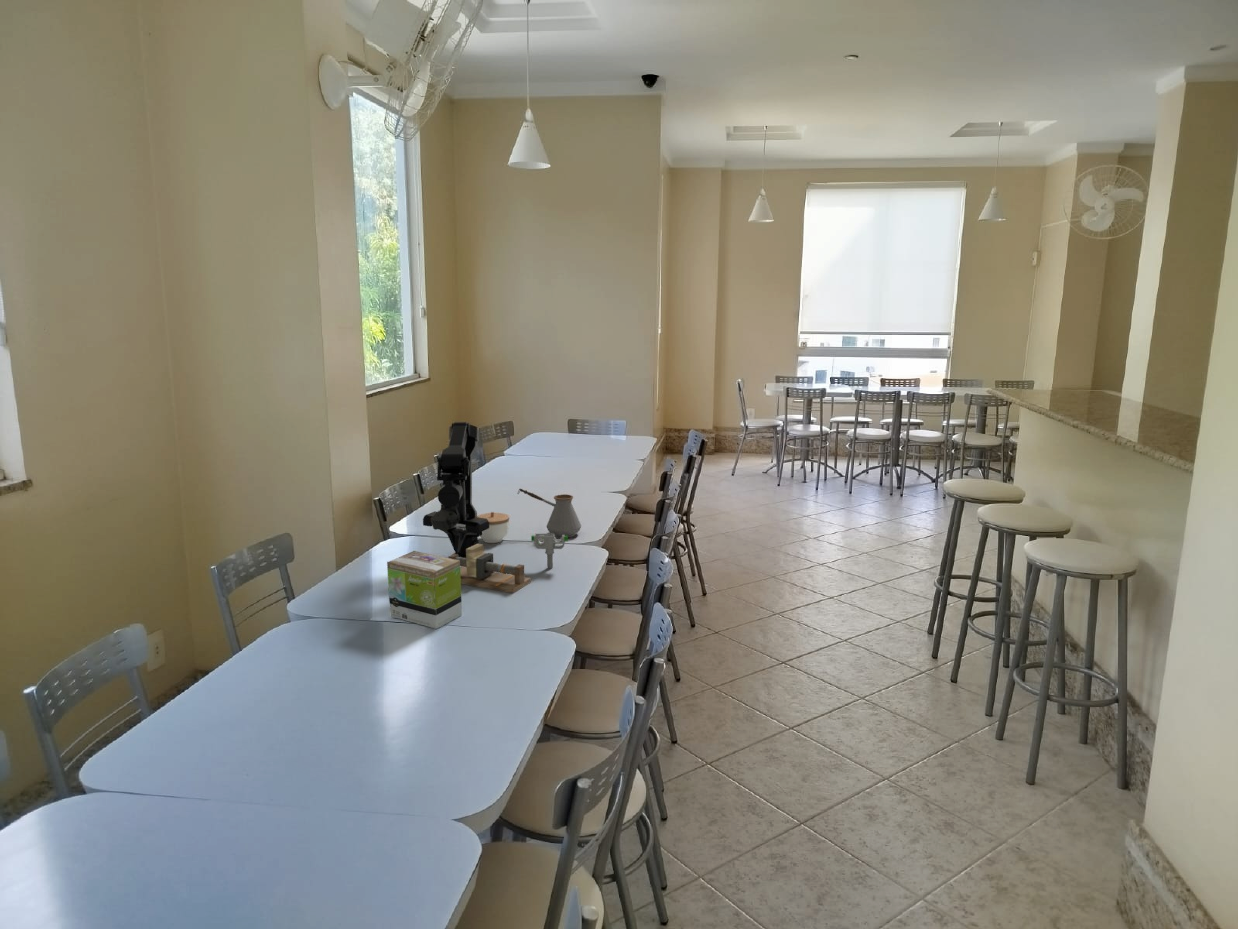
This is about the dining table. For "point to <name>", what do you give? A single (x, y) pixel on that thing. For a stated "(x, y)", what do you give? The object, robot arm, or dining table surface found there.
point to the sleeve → (473, 559)
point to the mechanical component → (548, 545)
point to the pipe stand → (495, 576)
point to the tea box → (425, 589)
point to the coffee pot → (561, 515)
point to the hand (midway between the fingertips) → (457, 551)
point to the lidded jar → (495, 527)
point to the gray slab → (480, 565)
